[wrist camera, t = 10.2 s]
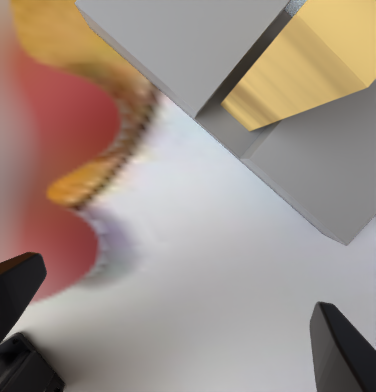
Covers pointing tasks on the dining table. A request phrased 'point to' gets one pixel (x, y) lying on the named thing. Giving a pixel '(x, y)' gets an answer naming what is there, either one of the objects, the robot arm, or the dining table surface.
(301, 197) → the slotted board
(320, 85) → the ochre block
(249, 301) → the dining table surface
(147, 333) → the dining table surface
